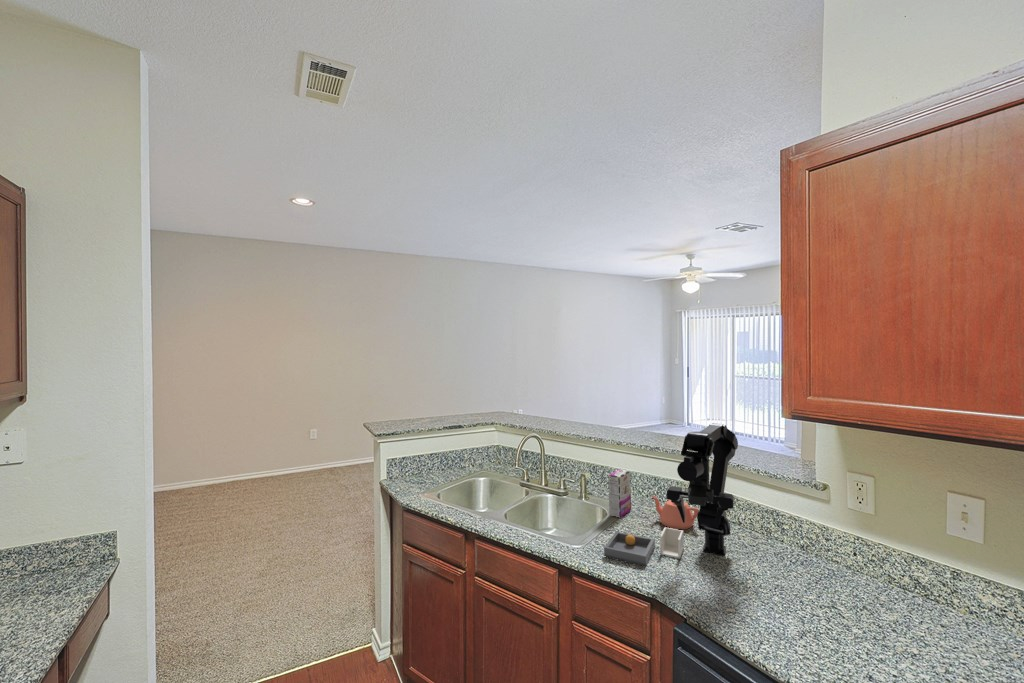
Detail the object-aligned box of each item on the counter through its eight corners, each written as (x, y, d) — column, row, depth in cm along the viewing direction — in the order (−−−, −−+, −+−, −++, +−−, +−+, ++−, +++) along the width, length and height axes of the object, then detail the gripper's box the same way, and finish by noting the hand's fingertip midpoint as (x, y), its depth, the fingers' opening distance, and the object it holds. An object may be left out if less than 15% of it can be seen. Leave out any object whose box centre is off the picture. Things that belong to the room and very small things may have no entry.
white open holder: (664, 545, 149) (664, 527, 149) (683, 548, 146) (683, 530, 146) (660, 554, 142) (660, 536, 142) (680, 558, 139) (680, 539, 139)
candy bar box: (620, 507, 184) (619, 468, 185) (631, 510, 181) (631, 470, 182) (608, 516, 176) (608, 474, 176) (620, 518, 173) (619, 476, 173)
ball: (622, 537, 147) (624, 544, 149) (630, 542, 145) (632, 549, 146) (628, 531, 149) (629, 537, 150) (636, 535, 147) (637, 542, 148)
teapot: (693, 535, 157) (693, 508, 157) (645, 522, 169) (644, 497, 169) (704, 524, 166) (704, 499, 167) (657, 513, 178) (657, 489, 178)
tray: (616, 540, 153) (616, 531, 153) (654, 548, 147) (654, 539, 147) (604, 557, 141) (604, 547, 141) (645, 566, 135) (645, 556, 135)
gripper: (663, 476, 133) (663, 528, 133) (731, 485, 125) (732, 541, 124) (669, 467, 143) (669, 516, 143) (733, 475, 134) (734, 527, 134)
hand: (700, 525), depth 136 cm, fingers open, 9 cm apart
